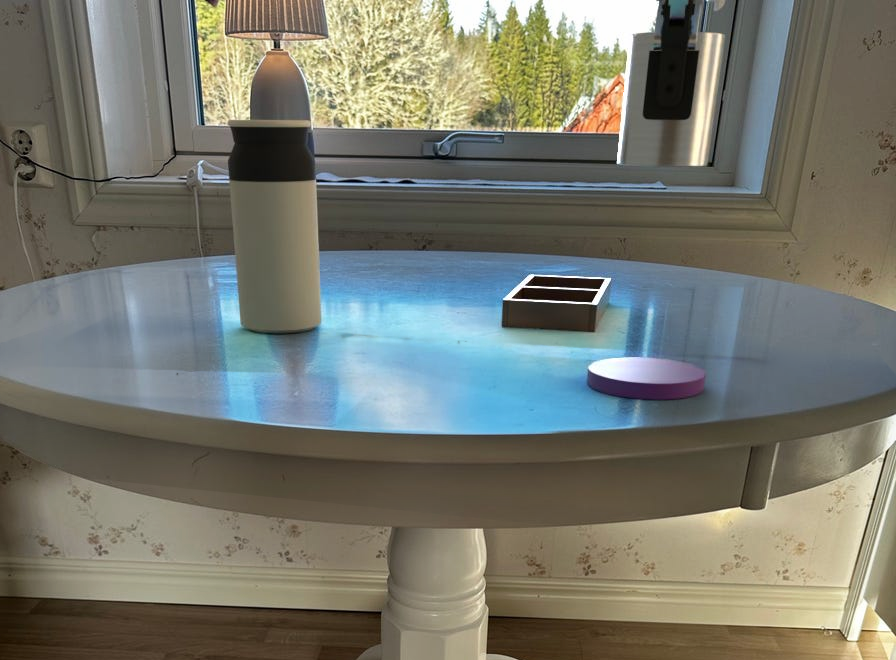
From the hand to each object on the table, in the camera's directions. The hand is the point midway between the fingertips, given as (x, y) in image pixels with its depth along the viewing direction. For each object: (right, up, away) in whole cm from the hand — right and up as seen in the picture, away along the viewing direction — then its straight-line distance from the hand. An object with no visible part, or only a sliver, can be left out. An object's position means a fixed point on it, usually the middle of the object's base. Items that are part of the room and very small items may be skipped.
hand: (668, 117), depth 68 cm
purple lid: (0, -17, +7) cm, 19 cm away
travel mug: (-31, -6, +27) cm, 42 cm away
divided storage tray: (-3, -4, +31) cm, 32 cm away
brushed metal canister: (0, -3, +1) cm, 3 cm away
